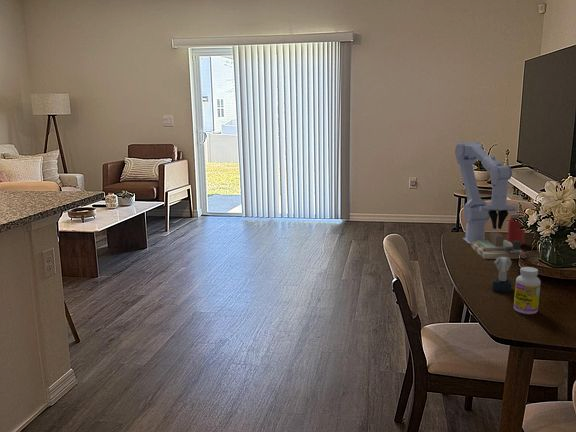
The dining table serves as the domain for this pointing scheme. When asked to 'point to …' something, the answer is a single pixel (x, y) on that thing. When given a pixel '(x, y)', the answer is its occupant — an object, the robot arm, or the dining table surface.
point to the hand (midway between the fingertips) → (496, 228)
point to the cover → (494, 242)
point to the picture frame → (495, 252)
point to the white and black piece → (502, 275)
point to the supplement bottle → (527, 291)
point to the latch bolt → (515, 246)
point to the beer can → (515, 230)
